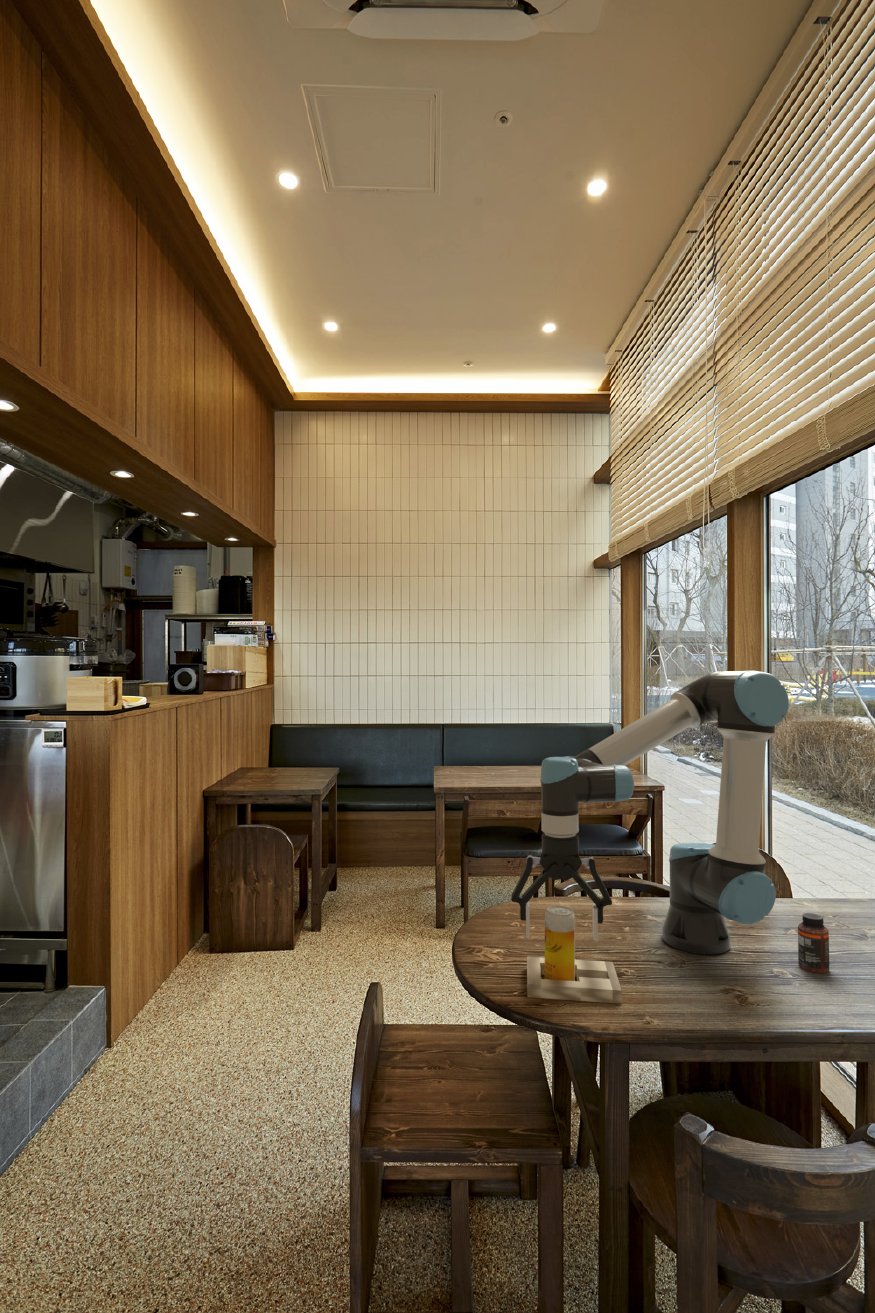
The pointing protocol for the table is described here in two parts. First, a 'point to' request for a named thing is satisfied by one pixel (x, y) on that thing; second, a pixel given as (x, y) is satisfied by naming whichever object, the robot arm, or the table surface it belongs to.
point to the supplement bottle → (813, 944)
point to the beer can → (559, 943)
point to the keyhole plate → (575, 982)
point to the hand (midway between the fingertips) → (561, 937)
